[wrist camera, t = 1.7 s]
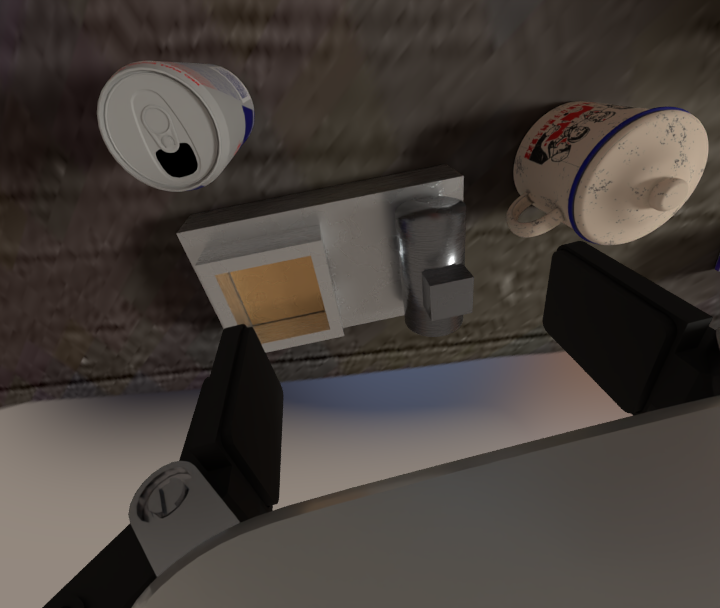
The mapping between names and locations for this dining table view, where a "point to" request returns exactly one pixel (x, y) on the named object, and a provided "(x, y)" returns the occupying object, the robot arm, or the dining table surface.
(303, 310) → the white desk organizer
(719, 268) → the supplement box
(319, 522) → the robot arm
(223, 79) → the energy drink
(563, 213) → the teacup with lid
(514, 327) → the dining table surface
